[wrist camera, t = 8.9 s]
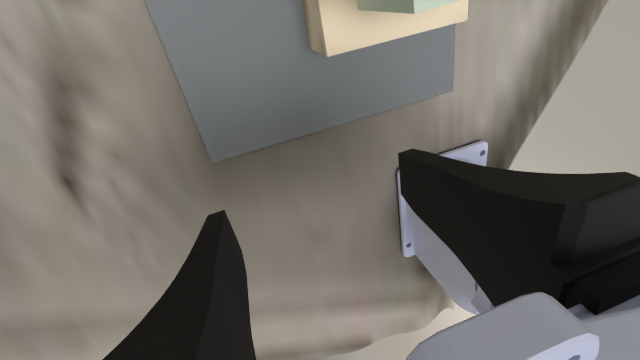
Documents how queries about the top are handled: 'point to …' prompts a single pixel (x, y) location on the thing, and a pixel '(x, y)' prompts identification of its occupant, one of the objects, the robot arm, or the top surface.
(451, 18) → the oak base
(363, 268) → the top surface
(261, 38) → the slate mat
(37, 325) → the top surface
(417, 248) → the robot arm
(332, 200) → the top surface
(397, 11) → the sage block
